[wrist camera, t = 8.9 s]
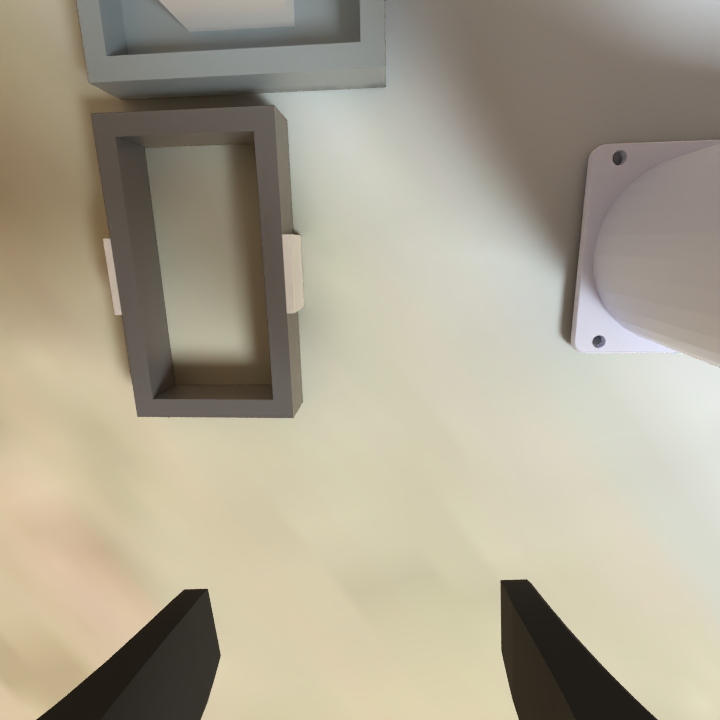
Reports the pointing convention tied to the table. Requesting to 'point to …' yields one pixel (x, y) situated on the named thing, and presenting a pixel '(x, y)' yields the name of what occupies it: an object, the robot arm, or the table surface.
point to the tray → (231, 50)
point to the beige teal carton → (231, 14)
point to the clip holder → (142, 270)
